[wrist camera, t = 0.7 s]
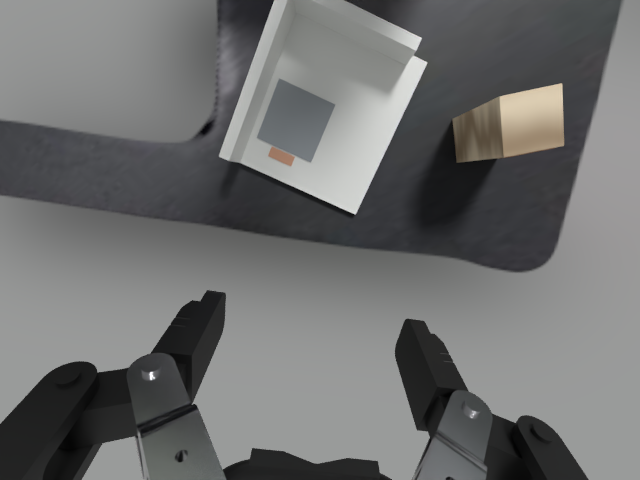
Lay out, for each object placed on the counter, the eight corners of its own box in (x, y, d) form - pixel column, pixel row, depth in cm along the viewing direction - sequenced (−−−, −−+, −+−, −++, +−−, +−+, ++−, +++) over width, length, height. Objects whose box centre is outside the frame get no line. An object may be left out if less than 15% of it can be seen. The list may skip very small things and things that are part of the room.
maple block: (452, 119, 35) (499, 96, 25) (496, 109, 34) (562, 83, 25) (456, 163, 36) (503, 158, 26) (499, 154, 35) (564, 146, 26)
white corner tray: (290, -1, 33) (284, -29, 28) (425, 64, 34) (440, 47, 29) (232, 159, 37) (218, 156, 32) (355, 214, 37) (358, 219, 33)
